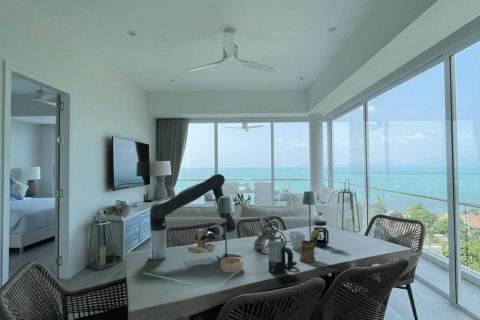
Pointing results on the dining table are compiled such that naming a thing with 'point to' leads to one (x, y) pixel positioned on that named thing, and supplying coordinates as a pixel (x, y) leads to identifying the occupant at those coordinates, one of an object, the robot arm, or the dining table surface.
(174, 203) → the robot arm
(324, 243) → the french press
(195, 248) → the oak lid
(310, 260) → the wooden mug
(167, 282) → the dining table surface
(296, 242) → the teacup
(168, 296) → the dining table surface
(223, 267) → the terracotta bowl
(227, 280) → the dining table surface
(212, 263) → the grey flat slab
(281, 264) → the milk frother
